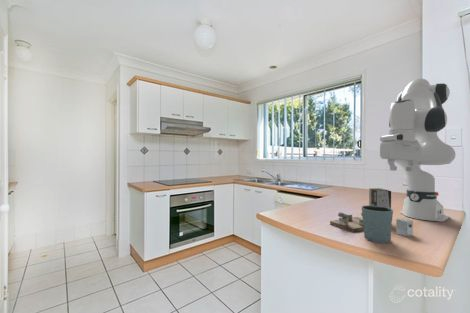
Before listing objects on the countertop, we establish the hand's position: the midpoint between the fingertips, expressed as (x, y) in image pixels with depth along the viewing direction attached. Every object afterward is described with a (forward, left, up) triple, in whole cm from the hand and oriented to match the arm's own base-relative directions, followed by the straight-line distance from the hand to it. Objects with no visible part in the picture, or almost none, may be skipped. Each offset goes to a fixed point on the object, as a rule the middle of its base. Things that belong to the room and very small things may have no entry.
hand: (401, 170), depth 90 cm
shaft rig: (+8, -15, -26) cm, 31 cm away
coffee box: (-8, -14, -26) cm, 31 cm away
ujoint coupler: (0, +1, -26) cm, 26 cm away
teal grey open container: (+16, 0, -26) cm, 31 cm away
